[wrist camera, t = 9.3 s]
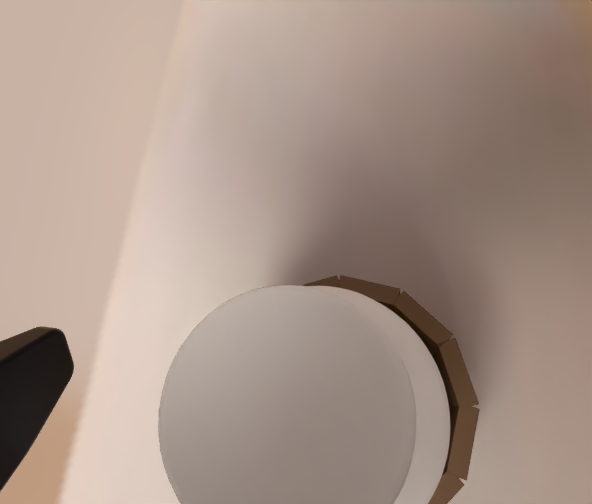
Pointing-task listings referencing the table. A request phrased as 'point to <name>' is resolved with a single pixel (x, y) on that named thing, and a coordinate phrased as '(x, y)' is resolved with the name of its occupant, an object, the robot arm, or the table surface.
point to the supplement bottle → (303, 404)
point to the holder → (449, 368)
